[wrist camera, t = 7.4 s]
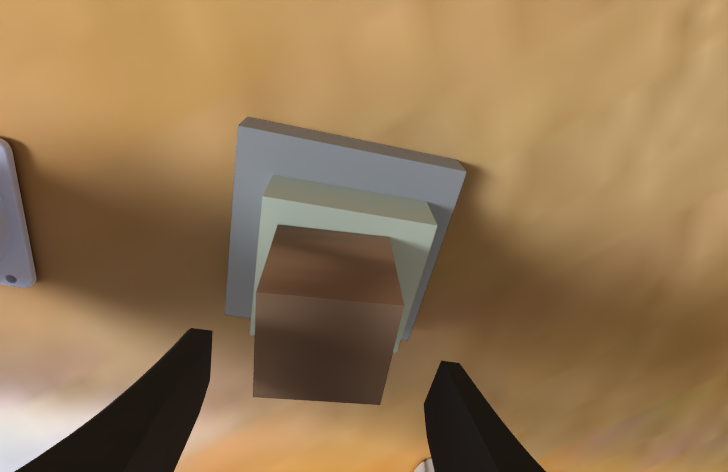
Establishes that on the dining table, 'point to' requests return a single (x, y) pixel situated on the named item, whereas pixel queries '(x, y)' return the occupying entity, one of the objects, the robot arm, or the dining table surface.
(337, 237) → the walnut cube
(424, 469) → the photo printer
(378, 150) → the tower base slab
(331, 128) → the dining table surface
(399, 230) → the tower top slab
